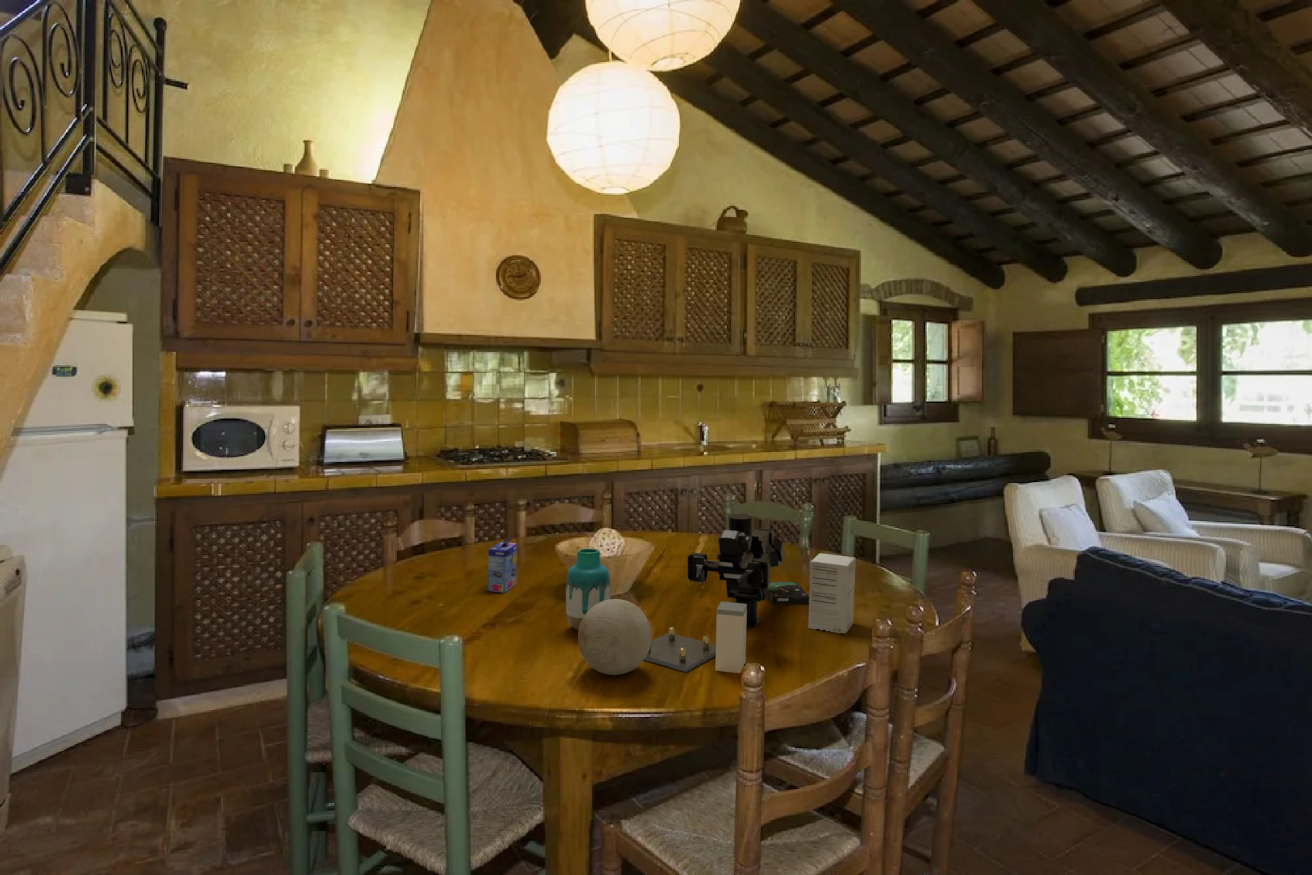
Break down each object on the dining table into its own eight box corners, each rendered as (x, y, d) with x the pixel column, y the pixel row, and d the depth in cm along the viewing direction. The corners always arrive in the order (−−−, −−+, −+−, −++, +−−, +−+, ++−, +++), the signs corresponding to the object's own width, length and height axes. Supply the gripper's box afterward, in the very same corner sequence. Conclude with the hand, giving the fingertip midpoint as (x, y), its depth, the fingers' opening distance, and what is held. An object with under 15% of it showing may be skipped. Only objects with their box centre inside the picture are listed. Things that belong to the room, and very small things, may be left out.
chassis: (668, 636, 176) (668, 622, 176) (723, 651, 167) (724, 636, 167) (628, 655, 164) (628, 639, 164) (686, 672, 155) (686, 655, 155)
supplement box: (817, 617, 192) (819, 552, 190) (853, 623, 188) (856, 556, 186) (807, 628, 183) (809, 560, 182) (845, 634, 179) (848, 565, 178)
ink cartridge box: (505, 593, 209) (505, 541, 208) (486, 592, 210) (486, 540, 209) (518, 583, 219) (518, 534, 218) (500, 582, 220) (499, 533, 218)
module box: (719, 660, 162) (721, 601, 161) (745, 663, 160) (746, 603, 159) (715, 670, 156) (716, 609, 155) (741, 673, 155) (743, 611, 154)
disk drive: (810, 606, 203) (795, 590, 218) (810, 596, 203) (796, 580, 218) (772, 606, 202) (760, 590, 217) (772, 596, 202) (760, 580, 217)
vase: (557, 633, 178) (558, 553, 176) (577, 619, 187) (578, 543, 186) (598, 639, 174) (599, 557, 172) (617, 625, 184) (617, 547, 182)
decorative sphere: (653, 686, 148) (654, 611, 147) (576, 688, 147) (577, 612, 146) (648, 657, 163) (649, 589, 162) (578, 659, 162) (578, 590, 160)
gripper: (698, 524, 179) (676, 541, 165) (776, 531, 173) (759, 549, 158) (699, 569, 181) (676, 590, 167) (775, 578, 174) (759, 600, 160)
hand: (717, 581), depth 163 cm, fingers open, 9 cm apart
